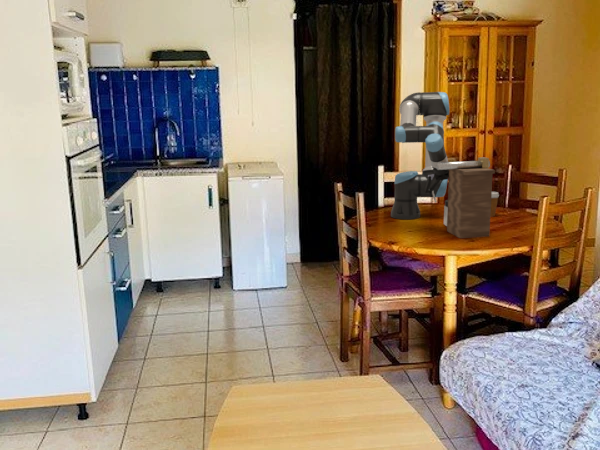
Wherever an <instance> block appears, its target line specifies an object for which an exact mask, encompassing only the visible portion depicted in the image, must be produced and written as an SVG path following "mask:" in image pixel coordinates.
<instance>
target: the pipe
mask: <svg viewBox="0 0 600 450" xmlns="http://www.w3.org/2000/svg"><path fill="white" fill-rule="evenodd" d="M436 167H437V170H447V169H468V168H488V169H490V167H491V161H490V158H489V157H484V156H483V157H481V156H480V157H477V160H469V161H467V160H466V161H448V162H441V163H437V165H436Z"/></svg>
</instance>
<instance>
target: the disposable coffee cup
mask: <svg viewBox="0 0 600 450" xmlns="http://www.w3.org/2000/svg"><path fill="white" fill-rule="evenodd" d="M499 196H500V194H499V192H497V191H492V195H491V215H490V218H492V217H495V215H496V212H497V205H498V200H499Z"/></svg>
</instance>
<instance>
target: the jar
mask: <svg viewBox="0 0 600 450" xmlns="http://www.w3.org/2000/svg"><path fill="white" fill-rule="evenodd" d="M443 208H444V209H443V225H444V226H446V227H447V215H448V199H446V200H445V201H444V206H443Z"/></svg>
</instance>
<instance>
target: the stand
mask: <svg viewBox="0 0 600 450" xmlns="http://www.w3.org/2000/svg"><path fill="white" fill-rule="evenodd" d="M448 170H449V178H448V185H447V186H448V189H447V194H448V195H447V200H448V215H447V226H446V231H447V232H448V233H449V234H450V235H453V236H455V237H457V238H458V239H468V238H469V239H470V238H483V237H490V232H491V231H490V230H491V217H490V215H491V195H492V190H493V176H494V175H493V174H496V170H495V169H492V168H468V169H448Z"/></svg>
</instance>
